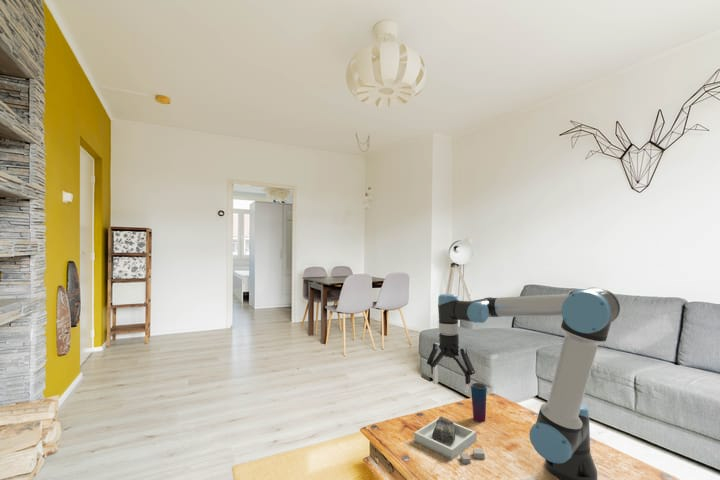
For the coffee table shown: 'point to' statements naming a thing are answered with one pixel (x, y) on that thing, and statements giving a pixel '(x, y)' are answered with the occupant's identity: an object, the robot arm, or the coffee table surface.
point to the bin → (449, 447)
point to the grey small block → (479, 453)
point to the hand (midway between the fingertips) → (450, 387)
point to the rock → (444, 429)
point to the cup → (479, 401)
